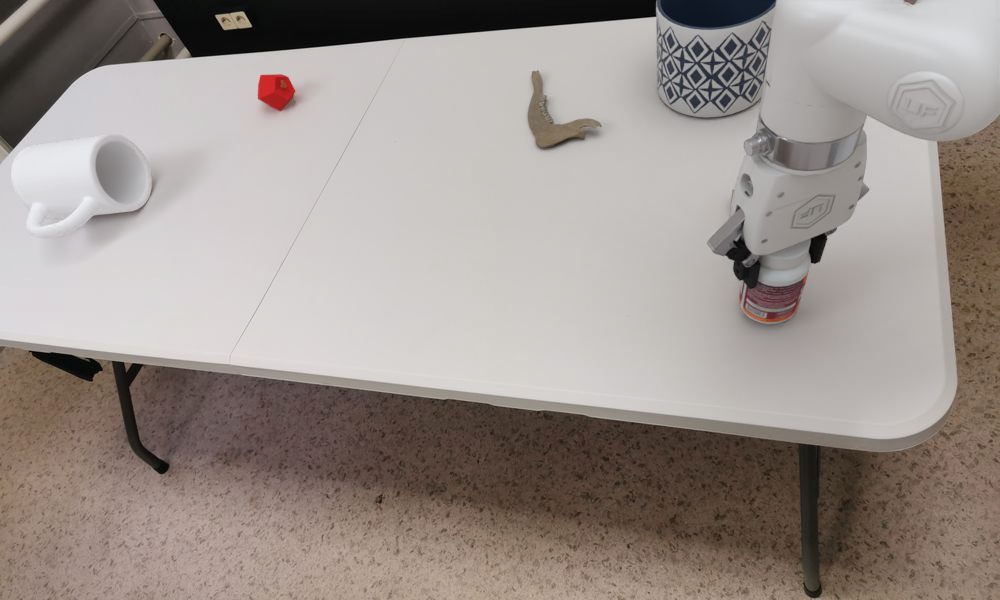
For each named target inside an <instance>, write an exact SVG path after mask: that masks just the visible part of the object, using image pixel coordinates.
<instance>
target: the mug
mask: <svg viewBox="0 0 1000 600" xmlns="http://www.w3.org/2000/svg"><path fill="white" fill-rule="evenodd" d="M10 169H11V170H10V179H11V184H12V187H13V190H14V192H15V194H16V196H17V198H18V199H19V201H20V202H21V203H22V204H23V206H25V208H26V209H28V210H29V212H28V214H27V217H26V221H25V227H26V230H27V232H28V233H29V235H31V236H32V237H34V238H37V239H42V240H43V239H47V240H48V239H55V238H59V237H62V236H65V235H68V234H70V233H72V232H74V231H76V230H77V229H79V228H80V227H83V225H84V224H85V223H87V222H88V221H90V220H91V218H92V217H94V216H101V215H111V214H121V213H127V212H128V213H129V212H135V211H137V210H139V209H141V208H142V207H143V206H144V205H146V203H147V202H148V200H149V198H150V196H151V193H152V189H153V188H152V187H153V176H152V170H151V167H150V165H149V162H148V160H147V158H146V156H145V155H144V153H143V152H142V150H141V149H140V148H139V146H138V145H136V144H135V142H133V141H132V140H130V139H129V138H127V137H125V136H123V135H120V134H117V133H107V134H99V135H93V136H87V137H86V136H85V137H79V138H73V139H64V140H58V141H51V142H44V143H38V144H37V143H36V144H31V145H28V146H26V147H23V148H22V149H21V150H20V151H19V152H18V153H17V154H16V155H15V157H14V159H13V161H12V164H11V168H10ZM46 219H48V220H60V221H57V222H55V223H51V224H47V225H43V224H44V223H45V220H46Z"/></svg>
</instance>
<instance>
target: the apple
mask: <svg viewBox="0 0 1000 600" xmlns="http://www.w3.org/2000/svg"><path fill="white" fill-rule="evenodd" d="M295 93H296V89H295V87H294V86H293V83H292V81H291V79H290V77H289V76H287V75H284V74H282V73H281V74H280V73H279V74H276V73H275V74H260V76H259V79H258V84H257V100H259V101H260V102H262V103H263V104H265V105H267V106H268V107H270V108H272V109H274V110H277V111H278V112H281V111H282V110H283V109H284V108H285V107H286V106H287V105H288V103H289V102H290V101H291V100H292V99H293V98H294V97H295Z"/></svg>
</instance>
